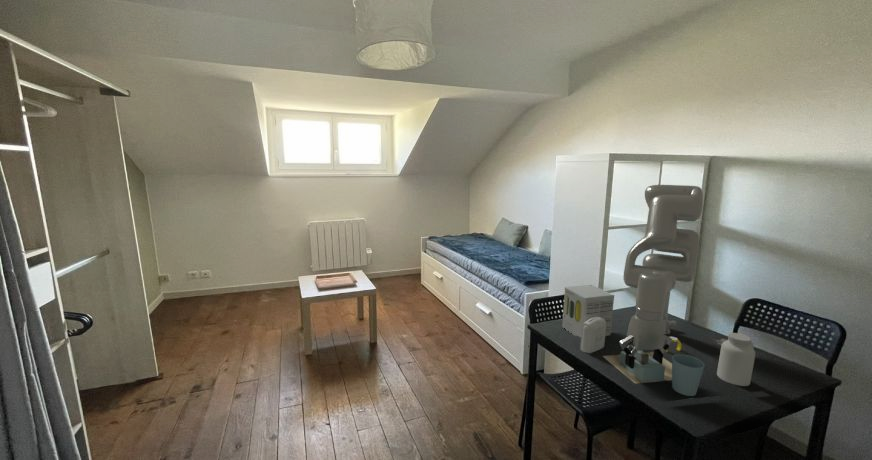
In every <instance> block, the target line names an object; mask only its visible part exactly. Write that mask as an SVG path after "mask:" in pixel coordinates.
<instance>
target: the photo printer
mask: <svg viewBox="0 0 872 460" xmlns="http://www.w3.org/2000/svg"><path fill="white" fill-rule="evenodd" d="M605 332H606V321H605V320H604V319H603V318H600V317H594V318H591V319H589V320H587V321H586V322H585V323H584V324H583V325H582V332H581V337H580V346H579V350H580V351H582V352H583V353H585V354H586V353H587V354H593V353H594V352H596V351H599V350H601V349H603V348H604V347H605V342H606V336H605Z"/></svg>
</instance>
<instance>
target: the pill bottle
mask: <svg viewBox="0 0 872 460" xmlns="http://www.w3.org/2000/svg"><path fill="white" fill-rule="evenodd" d="M727 340H728V341H725V342H723V343H722V345H720V346H721V347H720V352H719V353H720V354H719V357H718V358H719V359H718V365H717V369H716V370H717V371H716V375H717V377H718V378H719V379H720V380H722V381H724V382H726V383H729V384H731V385H735V386H740V387H748V386H750V385H751V381H752V376H753V371H754V370H753V368H754V365H755V360H756V351H755V349H754V348H752V347H751V341H752V338H751V337H750V336H748V335H745V334H743V333H738V332H730V333H729V334H728V335H727Z"/></svg>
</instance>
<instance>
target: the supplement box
mask: <svg viewBox="0 0 872 460" xmlns="http://www.w3.org/2000/svg"><path fill="white" fill-rule="evenodd" d="M614 301H615V294H612V293H610V292H608V291H606V290H604V289H602V288H599V287H597V286H595V285H594V284H583V285H574V286H565V287H564V297H563V310H562V311H563V312H562V313H563V314H562V328H563V329H564V328H565V329H566V331H567V332H568V331H569V332H568V333H570V334H571V333H572V334H571V335H572V336H573V337H579V338H581V332H582V325H583V324H584V323H585V322H586V321H587V320H589V319H591V318H594V317H600V318H603V319H604V320H605V321H606V332H605V337H607V336H611V332H612V321H613V312H614V304H615V303H614ZM565 329H564V330H565Z"/></svg>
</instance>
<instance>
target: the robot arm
mask: <svg viewBox="0 0 872 460" xmlns="http://www.w3.org/2000/svg"><path fill="white" fill-rule="evenodd" d="M703 197H704V193H703V190H702V188H701V187H700V186H698V185H683V184H682V185H681V184H679V185H678V184H676V185H675V184H654V185H653V184H652V185H649V186H648V187H646V188H645V190H644V199H645V202H646V204H647V207H648V213H647V221H646V229H645V234H644V237H642V238H640V239H639V240H638V241H637V242H636V243H634V244H633V245H632V246H631V248H630V249H629V250H628V253H627V255H626V258H625V263H624V269H623V278H622V279H623V283H624V284H625V286H627V287H630V288H633V289H636V290H637V291H636V299H635V310H634V315H631V317H630V320H629V324H628V327H627V332H626V337H624V338H623V339H621V340H619V342H618V343H619V345H620V347H621V350H622V351H624V352H625V353H626V357H625V364H626V365H627V366H629V367H630V368H631V369H633V368H634V362H635V357H634V356H633V355H634V354H635V353H636V352H637V351H650V350H651V351H652V352H653V359H654V360H656V361H657V362H659V363H660V364H662V361H663V358H664V354H666V353H667V352H666V350H667V351H668V349H669V348H670V345H671V344H672V342H671V341H672V339H671V338H669V337H670V336H668V335H670V334H671V330H670V327H674V326H677V324H678V323H677V320H669V319H668V313H669V305H670V298H671V291H672V290H674V289H675V287H676V284H677V282H681V283H689V282H693V280H694V279H695V277H696V273H697V268H698V267H697V265H698V258H699V249H700V236H699V233H698V232H697V231H696V230H693V229H688V228H687V229H686V228H679V227H678V221H684V222H696V221H698V220H699V219H700V217H701V215H702V211H703V207H704V206H703V205H704V204H703V203H704V202H703V201H704V200H703V199H704V198H703ZM650 250H653V251H657V252H661V253H649V254H646V255H645V256H644V257H643V259H642V265H641V264H636V261H637V259H638V257H639V256H640V255H642V254H643V253H645V252H646V251H650ZM664 253H670V254H664ZM671 254H678V255H671ZM679 255H681V256H679ZM631 349H632V350H631Z"/></svg>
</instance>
